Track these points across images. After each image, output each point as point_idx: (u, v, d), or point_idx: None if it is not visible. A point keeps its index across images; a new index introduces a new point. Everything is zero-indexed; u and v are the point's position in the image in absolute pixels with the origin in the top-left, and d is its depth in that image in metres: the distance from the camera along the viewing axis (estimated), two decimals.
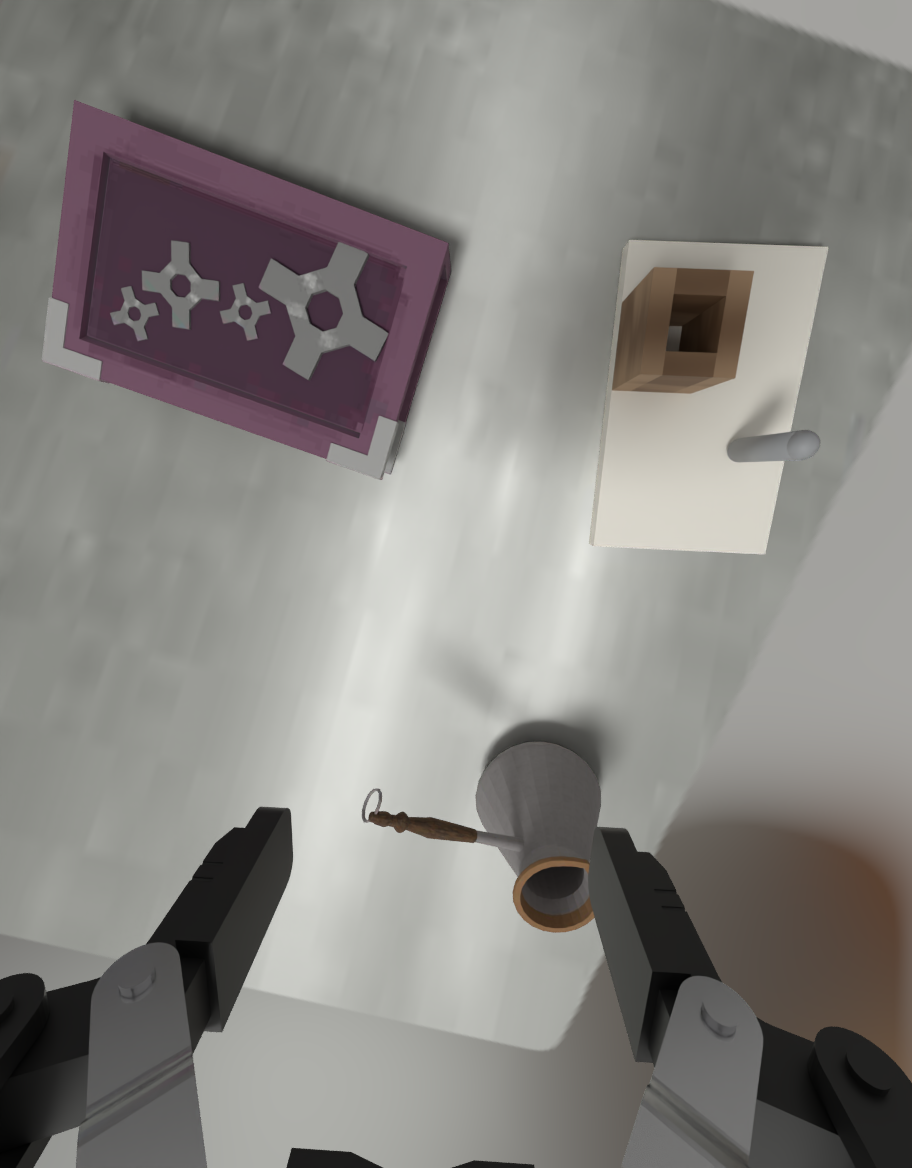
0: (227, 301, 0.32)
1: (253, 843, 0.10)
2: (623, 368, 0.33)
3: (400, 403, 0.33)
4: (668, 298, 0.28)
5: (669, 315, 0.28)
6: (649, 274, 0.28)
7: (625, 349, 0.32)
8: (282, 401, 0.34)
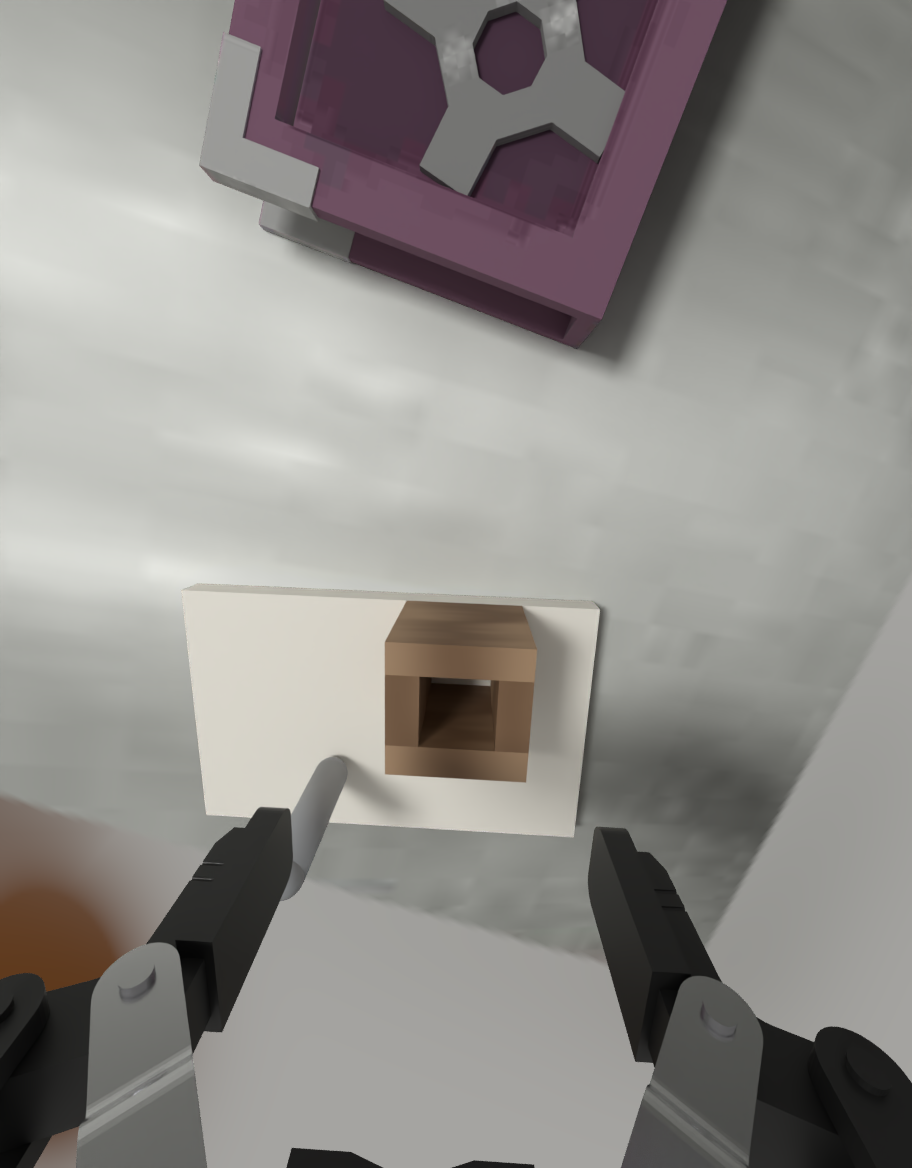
0: None
1: (253, 843, 0.10)
2: (423, 614, 0.22)
3: (344, 218, 0.17)
4: (492, 674, 0.18)
5: (469, 677, 0.18)
6: (531, 643, 0.19)
7: (448, 615, 0.22)
8: None
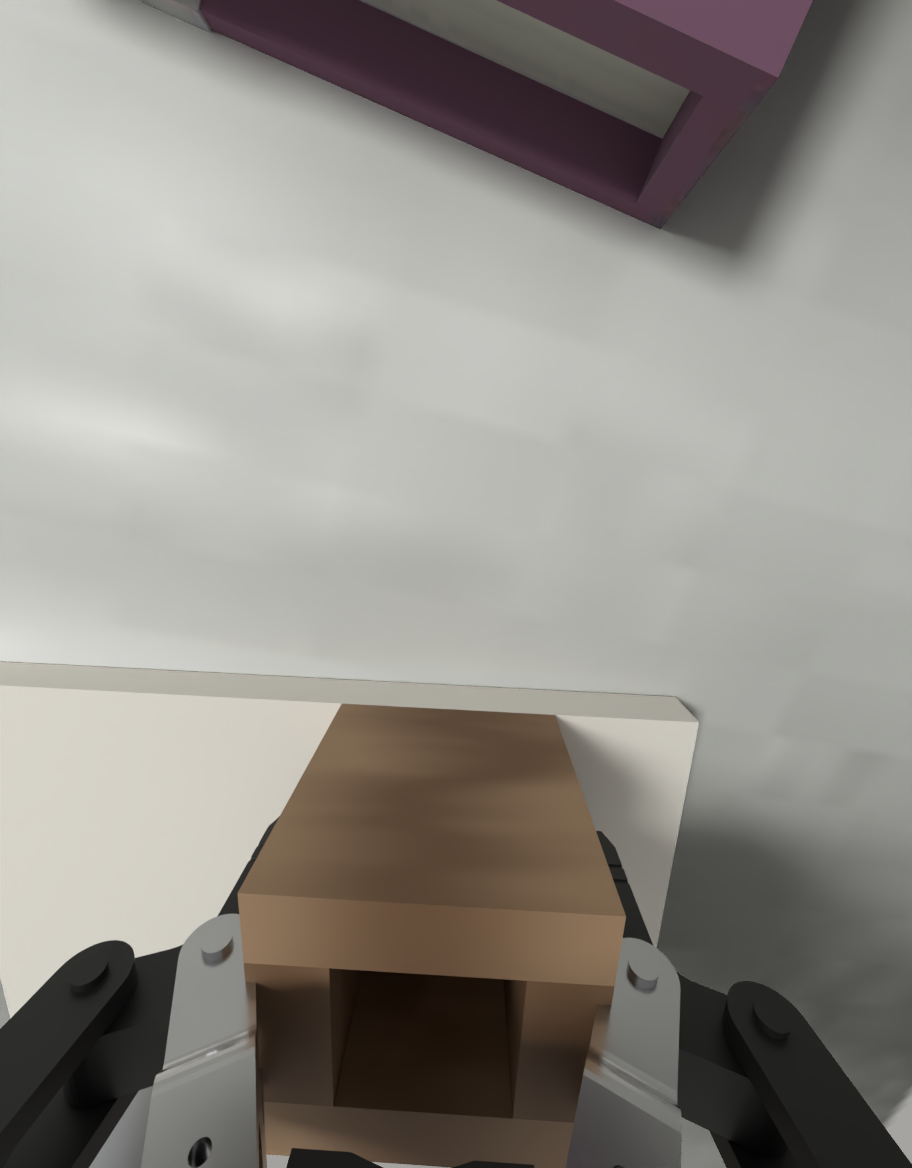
0: None
1: None
2: (363, 752, 0.11)
3: None
4: (511, 968, 0.07)
5: (453, 972, 0.07)
6: (603, 879, 0.08)
7: (414, 755, 0.11)
8: None
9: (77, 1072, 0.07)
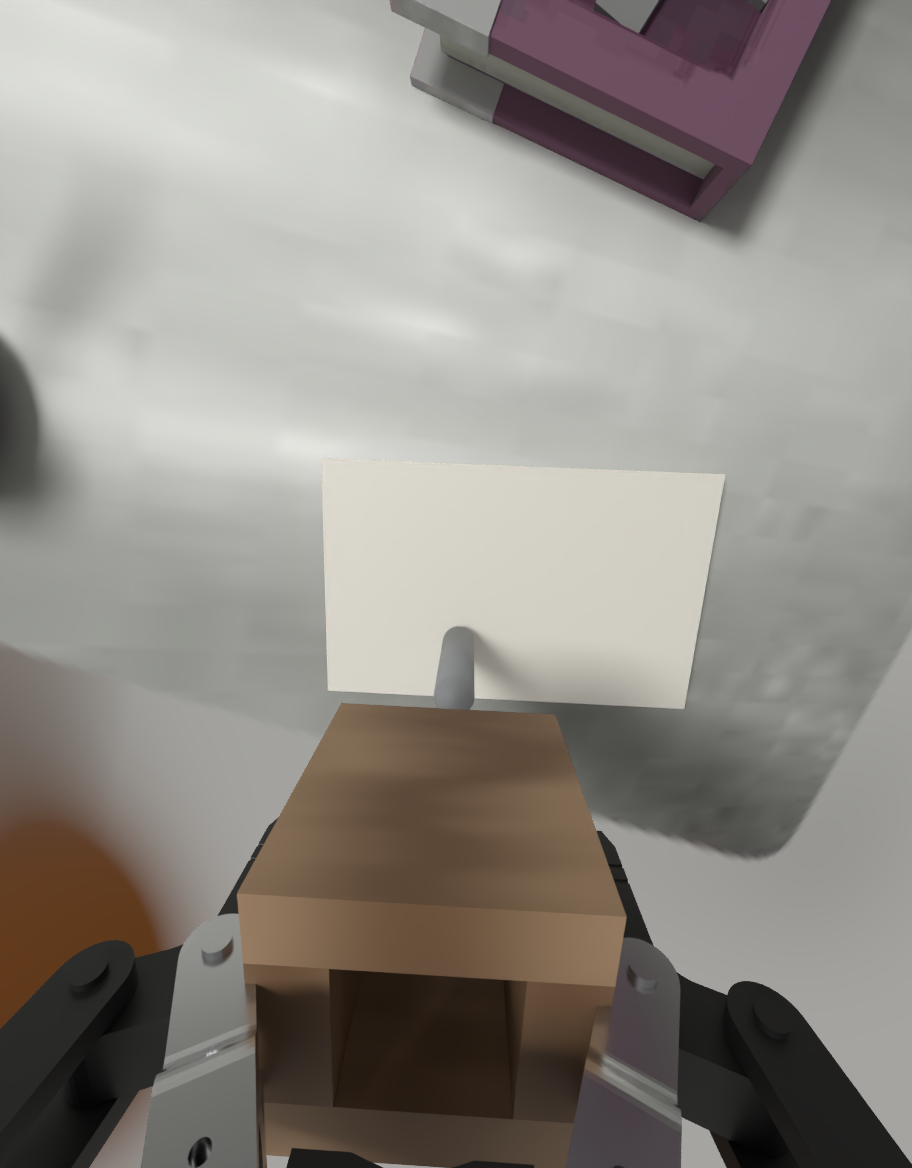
0: None
1: None
2: (363, 752, 0.11)
3: (519, 50, 0.18)
4: (511, 968, 0.07)
5: (453, 972, 0.07)
6: (604, 879, 0.08)
7: (414, 755, 0.11)
8: None
9: (77, 1072, 0.07)
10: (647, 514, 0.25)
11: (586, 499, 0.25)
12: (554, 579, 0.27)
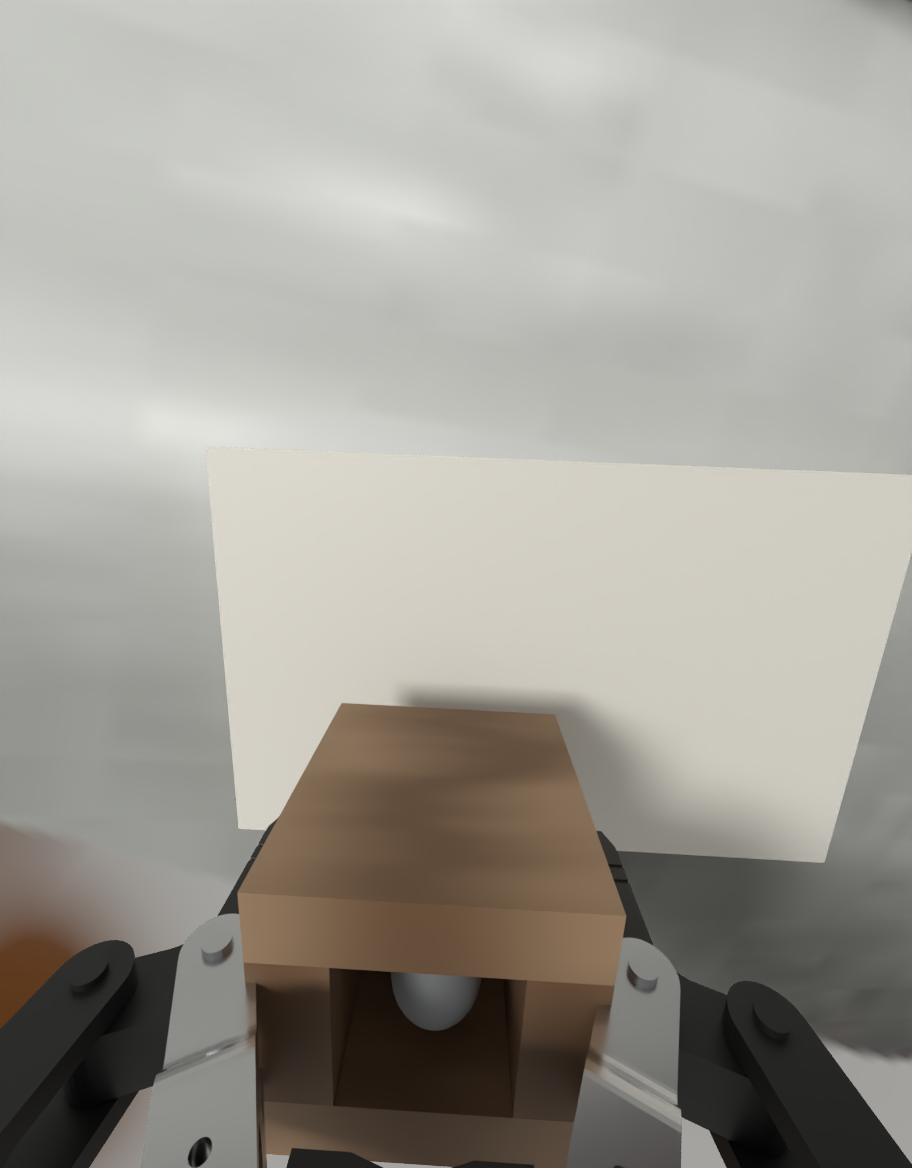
0: None
1: None
2: (363, 751, 0.11)
3: None
4: (511, 967, 0.07)
5: (453, 971, 0.07)
6: (604, 878, 0.08)
7: (414, 754, 0.11)
8: None
9: (77, 1072, 0.07)
10: (785, 546, 0.14)
11: (678, 520, 0.14)
12: (617, 656, 0.15)
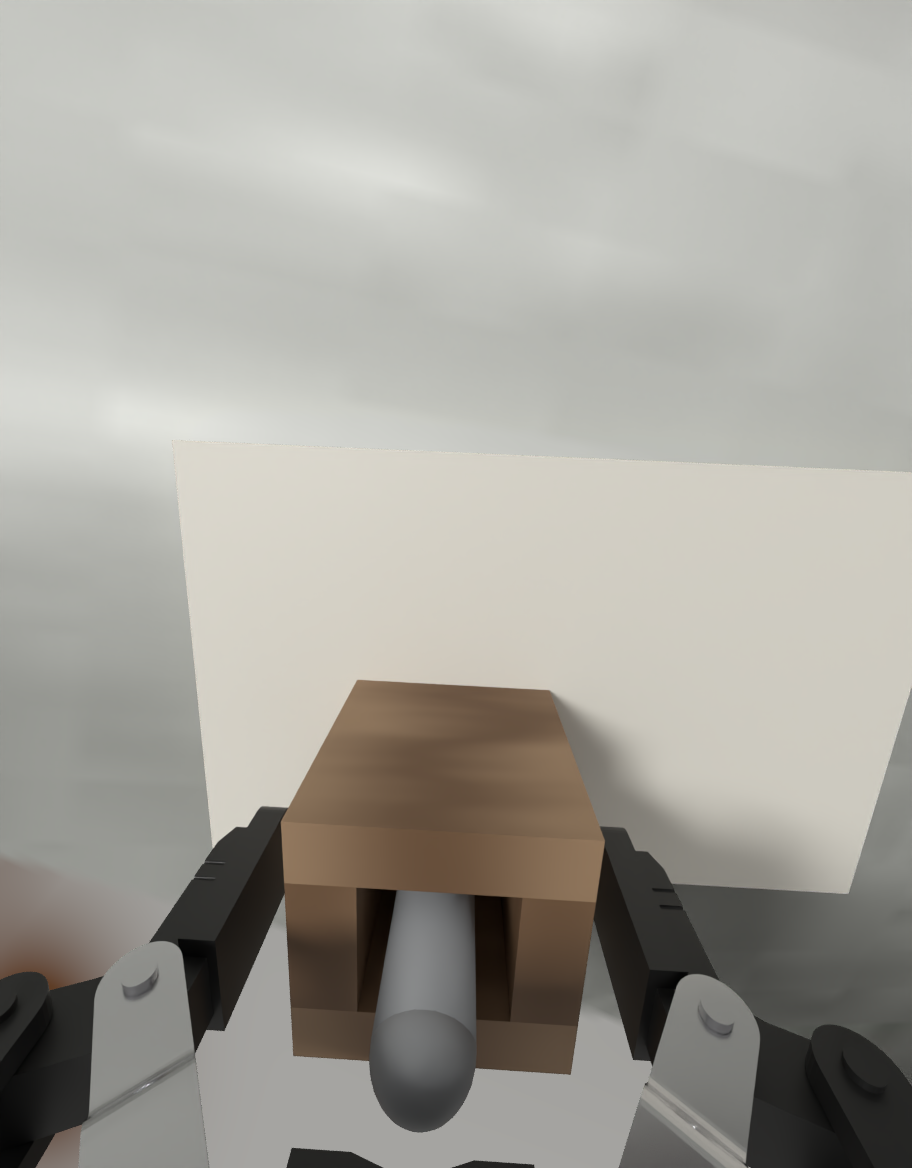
0: None
1: (255, 842, 0.10)
2: (379, 718, 0.12)
3: None
4: (510, 886, 0.09)
5: (460, 890, 0.09)
6: (587, 814, 0.09)
7: (424, 721, 0.12)
8: None
9: None
10: (812, 552, 0.13)
11: (694, 523, 0.13)
12: (626, 671, 0.14)
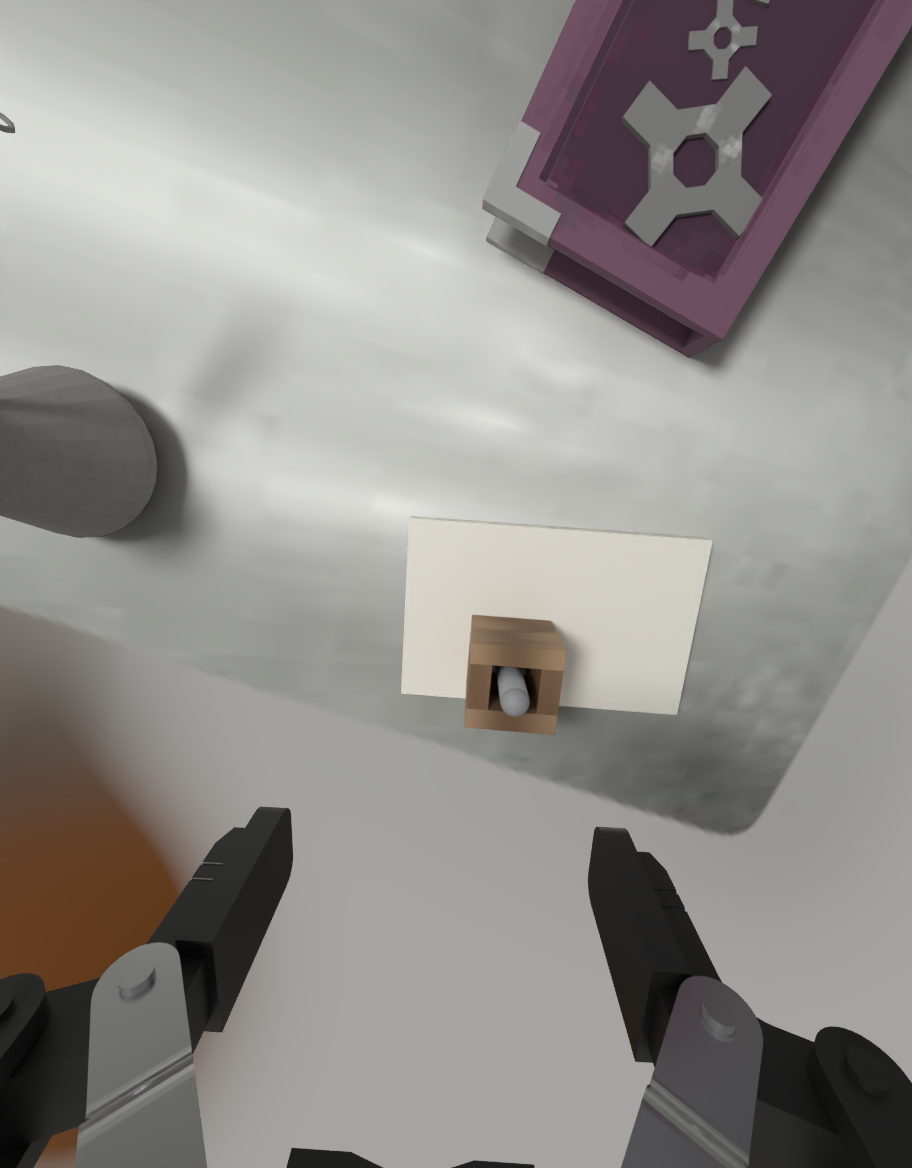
0: (741, 12, 0.24)
1: (253, 843, 0.10)
2: (487, 625, 0.33)
3: (569, 248, 0.27)
4: (538, 665, 0.29)
5: (523, 666, 0.29)
6: (562, 646, 0.30)
7: (504, 626, 0.33)
8: (604, 70, 0.25)
9: None
10: (653, 567, 0.34)
11: (608, 555, 0.34)
12: (581, 613, 0.35)
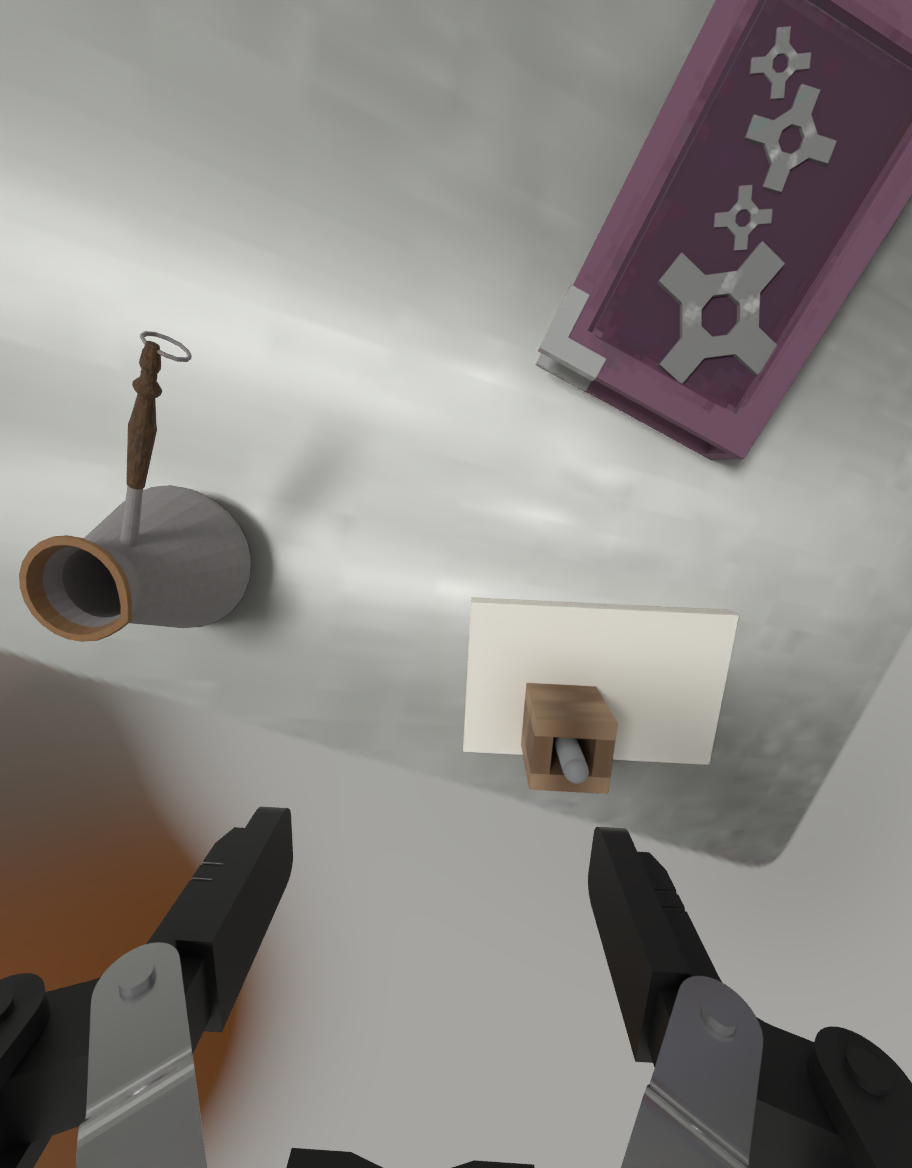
0: (758, 197, 0.29)
1: (253, 843, 0.10)
2: (543, 695, 0.37)
3: (613, 385, 0.31)
4: (593, 736, 0.34)
5: (580, 737, 0.34)
6: (613, 718, 0.34)
7: (558, 696, 0.37)
8: (643, 243, 0.30)
9: None
10: (687, 639, 0.38)
11: (646, 629, 0.38)
12: (623, 679, 0.39)
